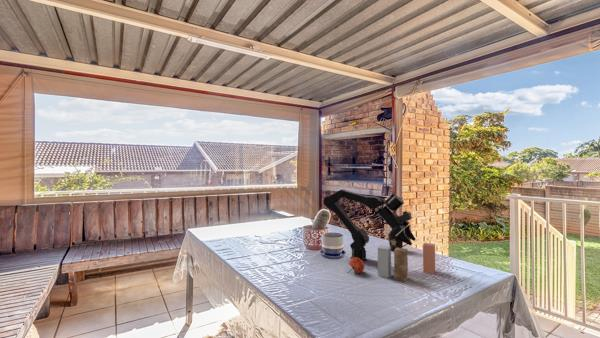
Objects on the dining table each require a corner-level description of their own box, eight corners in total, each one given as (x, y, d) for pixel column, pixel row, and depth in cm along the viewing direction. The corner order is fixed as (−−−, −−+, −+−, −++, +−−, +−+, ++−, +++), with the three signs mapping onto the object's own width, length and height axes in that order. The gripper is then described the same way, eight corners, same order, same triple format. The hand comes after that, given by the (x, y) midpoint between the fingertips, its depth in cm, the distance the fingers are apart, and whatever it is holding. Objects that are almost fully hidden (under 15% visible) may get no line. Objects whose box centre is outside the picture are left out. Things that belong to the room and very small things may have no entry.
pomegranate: (353, 281, 123) (371, 267, 123) (342, 267, 124) (360, 253, 124) (351, 276, 130) (368, 263, 130) (341, 263, 131) (358, 250, 131)
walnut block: (394, 279, 119) (394, 250, 119) (397, 275, 123) (396, 247, 123) (405, 281, 117) (405, 251, 117) (407, 277, 121) (407, 249, 121)
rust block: (423, 272, 127) (422, 244, 127) (424, 269, 131) (424, 242, 131) (434, 274, 124) (433, 246, 124) (435, 271, 128) (435, 243, 128)
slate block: (378, 276, 123) (377, 247, 123) (381, 272, 127) (380, 245, 127) (388, 278, 121) (388, 249, 121) (391, 274, 124) (390, 246, 124)
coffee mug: (385, 249, 163) (384, 232, 163) (396, 247, 167) (395, 231, 167) (399, 255, 152) (399, 236, 153) (411, 252, 156) (411, 235, 156)
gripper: (396, 208, 126) (422, 235, 120) (405, 204, 142) (429, 227, 136) (379, 224, 130) (404, 251, 124) (389, 218, 146) (412, 242, 140)
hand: (413, 242), depth 131 cm, fingers open, 9 cm apart
